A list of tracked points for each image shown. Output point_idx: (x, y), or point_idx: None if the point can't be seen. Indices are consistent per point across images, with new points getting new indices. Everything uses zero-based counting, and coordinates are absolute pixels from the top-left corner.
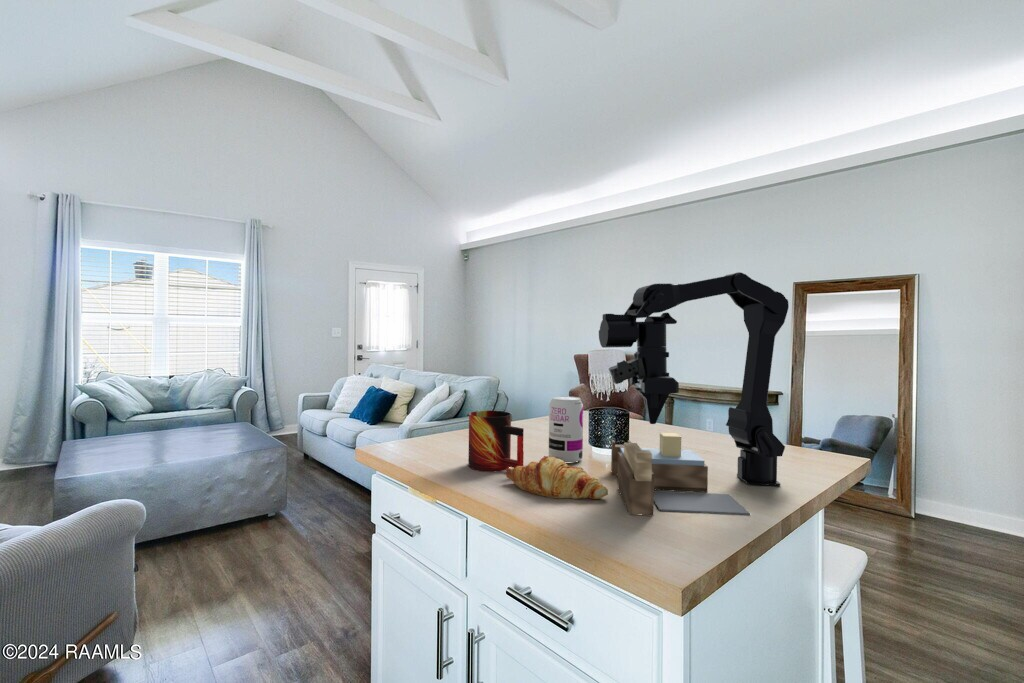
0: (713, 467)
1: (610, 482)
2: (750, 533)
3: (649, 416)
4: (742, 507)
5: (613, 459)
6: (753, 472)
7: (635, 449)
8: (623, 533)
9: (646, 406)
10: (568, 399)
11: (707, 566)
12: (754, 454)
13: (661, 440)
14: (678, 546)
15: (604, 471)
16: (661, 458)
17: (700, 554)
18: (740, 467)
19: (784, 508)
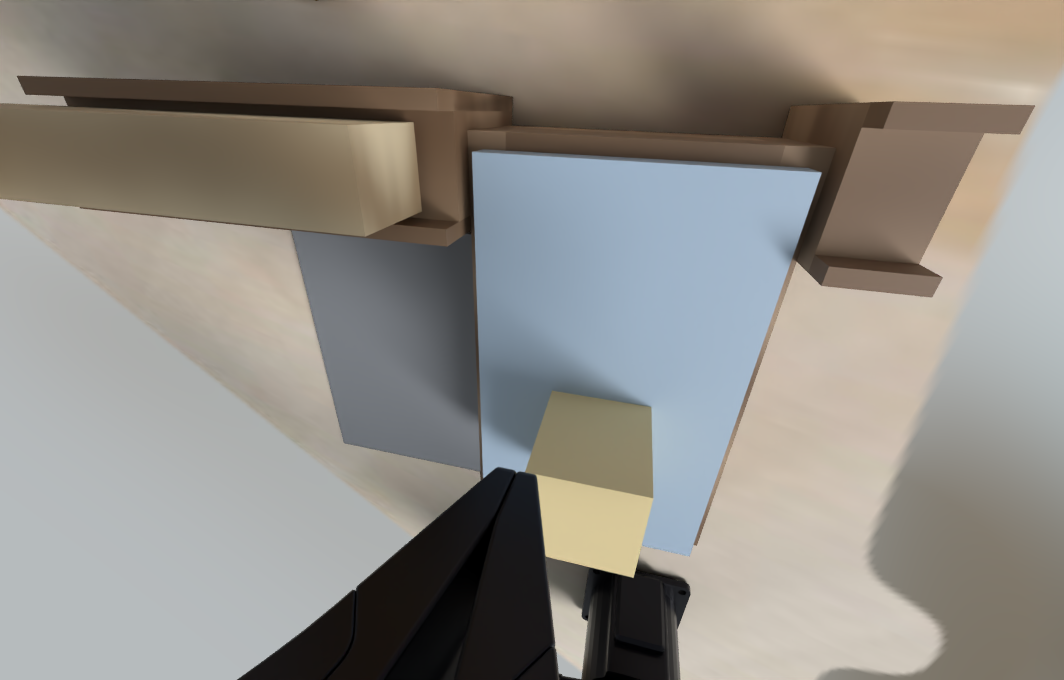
0: (822, 582)
1: (620, 65)
2: (234, 384)
3: (441, 514)
4: (380, 448)
5: (823, 111)
6: (600, 609)
7: (161, 173)
8: (60, 33)
9: (467, 640)
10: None
11: (23, 221)
12: (593, 677)
13: (595, 452)
14: None
15: (878, 54)
16: (493, 362)
17: (67, 228)
18: (634, 607)
19: (415, 525)
